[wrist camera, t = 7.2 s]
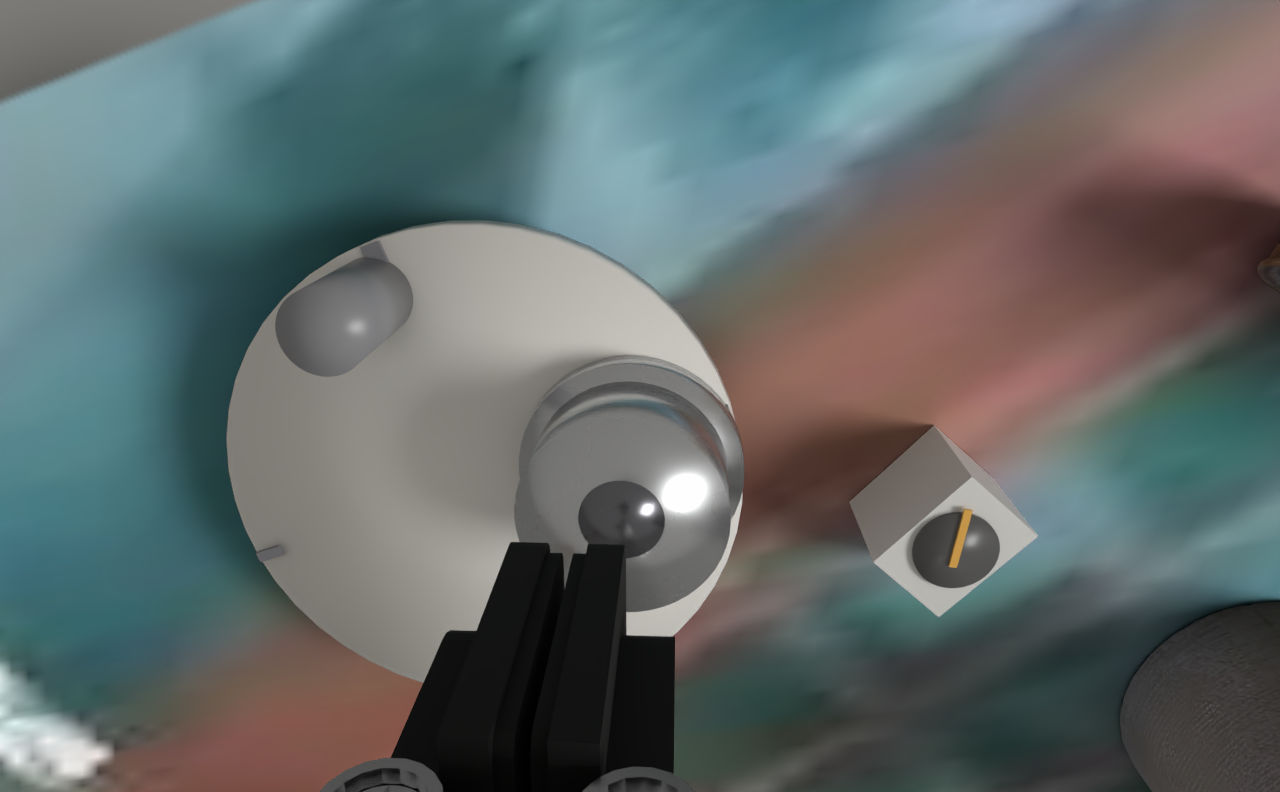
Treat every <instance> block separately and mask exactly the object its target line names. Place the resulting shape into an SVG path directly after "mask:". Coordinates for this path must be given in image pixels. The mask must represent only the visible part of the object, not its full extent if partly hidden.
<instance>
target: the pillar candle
mask: <svg viewBox="0 0 1280 792" xmlns="http://www.w3.org/2000/svg"><path fill="white" fill-rule="evenodd" d="M1119 721H1120V731H1121V738H1122V741H1123V744H1124V746H1125V749H1126V751H1127V753H1128V755H1129V757H1130V759H1131V761H1132V763H1133V765H1134V766H1135V768H1136V769H1137V771H1138V772H1139V774H1140V775H1141V777H1142V778H1143V779H1144V781H1145V782H1146V784H1147V785H1148V787H1149V788H1150V790H1151V791H1152V792H1280V602H1264V603H1258V604H1251V605H1250V606H1246V605H1245V606H1237V607H1232V608H1229V609H1225V610H1222V611H1219V612H1217V613H1213V614H1210V615H1208V616H1207V617H1204V618H1203V619H1200V620H1197V621H1195V622H1194V623H1192V624H1191V625H1189V626H1188V627H1186V628H1185V629H1182V630H1180V631H1178V632H1177V633H1175V634H1174V635H1173V636H1171V637H1170V638H1169V639H1168V640H1166V641H1165V642H1164V643H1162V644H1161V645H1160V646H1159V647H1158V648H1157V649H1156V650H1155V651H1154V652H1153V653H1152V654H1151V655H1150V656H1149V657H1148V658H1147V659H1146V661H1145V662H1144V663H1143V664H1142V666H1141V667H1140V668H1139V670H1138V671H1137V672H1136V673H1135V675H1134V676H1133V678H1132V680H1131V682H1130V684H1129V686H1128V689H1127V691H1126V693H1125V696H1124V700H1123V705H1122V707H1121V710H1120V720H1119Z"/></svg>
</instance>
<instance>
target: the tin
mask: <svg viewBox="0 0 1280 792" xmlns="http://www.w3.org/2000/svg"><path fill="white" fill-rule="evenodd" d="M1257 272H1258V274H1259V276H1260V277H1261V279H1262V280H1263V281H1265V282H1266V283H1267V284H1268V285H1269V286H1271V287H1272V288H1273V289H1275V290H1276V291H1278V292H1279V293H1280V242H1279V244H1278V245H1277V247H1276V248H1275V249H1274V251H1273V252H1272V253H1271V255H1270V256H1269V258H1268V259H1266V260H1264V261H1262V262H1261V263H1260V264H1259V265H1258V267H1257Z"/></svg>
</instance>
